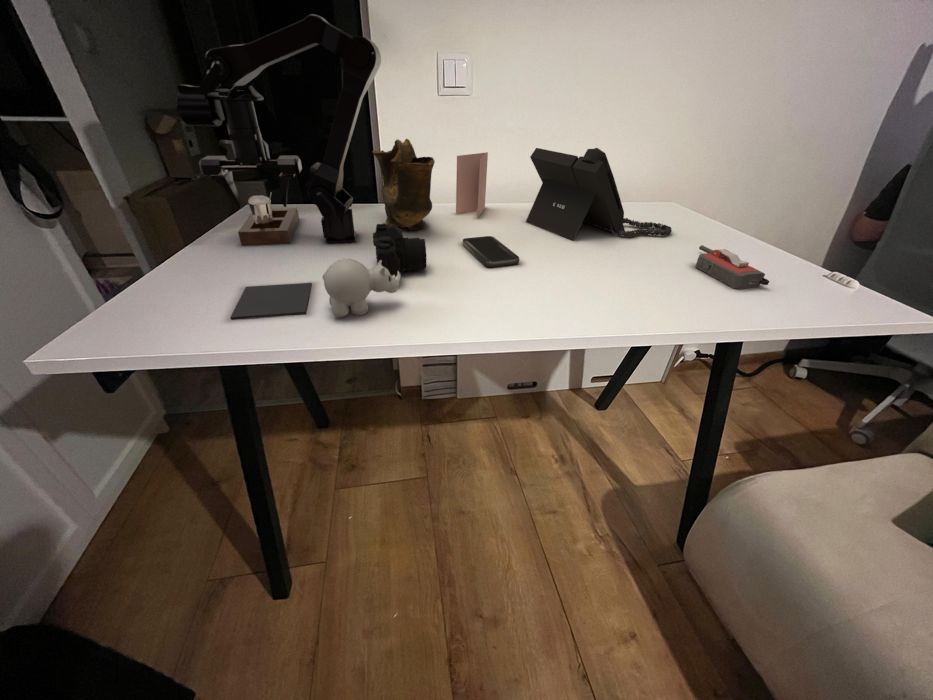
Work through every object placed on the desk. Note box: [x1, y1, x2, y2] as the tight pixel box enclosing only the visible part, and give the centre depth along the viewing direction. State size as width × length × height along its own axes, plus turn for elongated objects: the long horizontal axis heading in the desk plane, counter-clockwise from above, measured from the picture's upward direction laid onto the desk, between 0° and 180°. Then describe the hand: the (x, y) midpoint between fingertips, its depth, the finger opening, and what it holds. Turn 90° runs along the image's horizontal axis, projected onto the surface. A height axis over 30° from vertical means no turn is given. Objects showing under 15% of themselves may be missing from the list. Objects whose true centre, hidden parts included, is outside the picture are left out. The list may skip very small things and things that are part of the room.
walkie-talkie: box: [694, 245, 770, 290], centre depth 84 cm, size 9×4×20 cm
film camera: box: [372, 223, 427, 277], centre depth 77 cm, size 15×10×9 cm, turn 9°
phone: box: [462, 235, 520, 268], centre depth 88 cm, size 8×1×15 cm
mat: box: [229, 282, 313, 320], centre depth 67 cm, size 11×11×1 cm
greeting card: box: [455, 152, 489, 219], centre depth 110 cm, size 11×7×15 cm, turn 133°
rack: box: [237, 207, 300, 246], centre depth 95 cm, size 10×18×3 cm, turn 13°
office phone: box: [525, 147, 672, 242], centre depth 102 cm, size 29×28×20 cm
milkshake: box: [247, 192, 274, 229], centre depth 90 cm, size 4×5×10 cm
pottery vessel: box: [372, 137, 436, 232], centre depth 97 cm, size 25×11×20 cm, turn 24°
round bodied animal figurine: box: [322, 258, 402, 318], centre depth 64 cm, size 7×12×8 cm, turn 109°
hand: (263, 207), depth 89 cm, fingers open, 9 cm apart
